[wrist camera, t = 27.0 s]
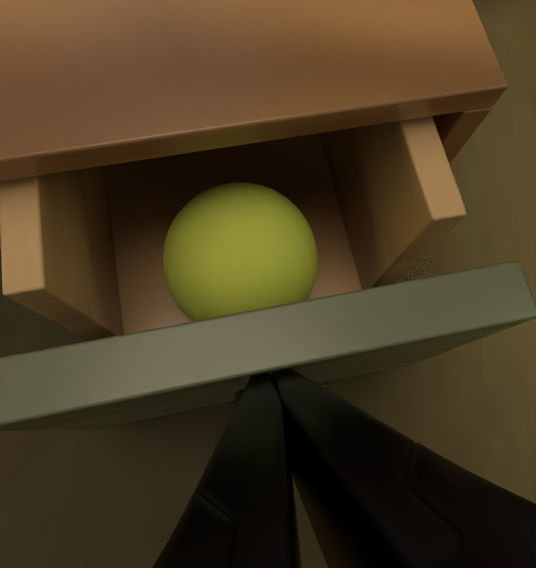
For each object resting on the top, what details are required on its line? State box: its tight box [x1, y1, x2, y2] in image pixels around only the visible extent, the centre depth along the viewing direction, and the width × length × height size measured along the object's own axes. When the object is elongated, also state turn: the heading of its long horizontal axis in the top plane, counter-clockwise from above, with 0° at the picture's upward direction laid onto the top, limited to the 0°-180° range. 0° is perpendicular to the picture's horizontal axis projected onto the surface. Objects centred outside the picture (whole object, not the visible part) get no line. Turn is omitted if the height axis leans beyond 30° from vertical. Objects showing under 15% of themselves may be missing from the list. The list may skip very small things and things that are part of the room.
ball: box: [163, 182, 318, 321], centre depth 13 cm, size 4×4×4 cm
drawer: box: [0, 116, 536, 431], centre depth 13 cm, size 12×11×7 cm
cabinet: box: [0, 0, 508, 246], centre depth 15 cm, size 12×12×9 cm
